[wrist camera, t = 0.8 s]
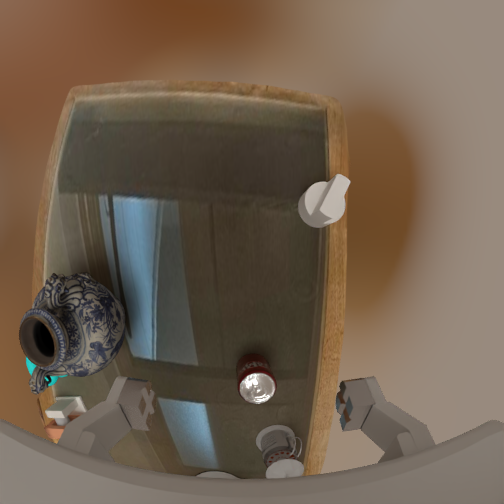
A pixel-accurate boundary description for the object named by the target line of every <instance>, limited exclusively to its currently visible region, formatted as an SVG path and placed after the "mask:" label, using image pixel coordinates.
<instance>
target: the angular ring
mask: <svg viewBox="0 0 504 504" xmlns="http://www.w3.org/2000/svg"><path fill="white" fill-rule="evenodd" d="M79 416H80V415H68V417H69V419H70V421H72V420H74V419H76V418H77V417H79ZM65 427H66V426H58V425H57V423H56V421H55V419H54V420H53V421H52V422H50V423H49V424H48V425H47V426H46V427H45V428H44V429H45V431H46V433H47V435H48V437H49V438H54V439H60V437H61V435H62V433H63V431H64V429H65Z"/></svg>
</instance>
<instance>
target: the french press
mask: <svg viewBox="0 0 504 504" xmlns="http://www.w3.org/2000/svg"><path fill="white" fill-rule="evenodd" d="M295 438H298V439H299V440H300V442H301V449H302V441H301V439H300V438H299V437H295V434H294V433H293V431H292V430H291V429H290V428H288V427H287V426H283V425H273V426H269V427H267V428H265V429H263V430H262V431H261V432H260V433H259V434H258V436H257V438H256V445H257V446H258V448H259V449H260V450H261V451H262V453H263V454H262V455H263V460H264V463H265V464H266V466H267V468H268V469H267V471H266V477H267V479H272V478H288V477H300V476H301V475H302V473H303V472H304V466H303V465H302V463H301V462H299V461H298V457H299V455H300V453H301V449H300V453H299V455H297V451H296V448H295V446H296V439H295ZM294 441H295V445H294V443H293V442H294ZM291 448H294V449H292V450H291ZM289 450H291V451H289ZM292 451H293V452H292ZM294 451H295V453H294ZM264 458H265V459H264Z"/></svg>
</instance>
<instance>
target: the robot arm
mask: <svg viewBox="0 0 504 504" xmlns="http://www.w3.org/2000/svg"><path fill="white" fill-rule="evenodd" d="M339 387H340V391H339V392H338V393H337V396H336V409H337V412H338V413H339V414H340V415H341V418H340V423H341V427H342V430H343V431H350V430H357V429H361V431H363V432H364V433H365V434H366V435H367V436H368V437H369V438H370V439H371V440H372V441H374V443H376V444H377V445H378V446H379V447H380V448H381V449H382V450H383V451H385V454H384V455H383V456H382V458H381V459H380V460H379V462H378V463H377V464H372V465H368V466H364V467H359V468H354V469H349V470H344V471H338V472H332V473H326V474H318V475H310V476H300V477H288V478H272V479H240V478H237V477H235V476H233V475H231V474H229V473H225V472H219V471H210V472H204V473H201V474H199V475H197V476H196V477H195V476H185V475H177V474H170V473H163V472H157V471H151V470H146V469H141V468H136V467H131V466H127V465H123V464H119V463H115V461H114V460H113V458H112V457H111V456H110V454H109V453H108V451H109V450H110V449H111V448H112V447H113V446H114V445H115V444H117V443H118V442H119V441H120V440H121V439H122V438H123V437H124V436H125V435H126V434H127V433H128V432H130V431H131V430H132V429H139V430H146V431H149V430H150V427H151V423H152V417H151V414H153V413H154V412H155V409H156V395H155V393H154V392H153V391H152V390H151V389H152V384H151V381H148V380H142V379H135V378H129V377H123V376H118V377H117V378H116V379H115V381H114V383H113V386H112V388H111V390H110V392H109V394H108V397H107V399H106V401H102V402H100V403H99V404H97V405H96V406H94V407H93V408H91V409H90V410H88V411H86V412H85V413H83V414H82V415H80V416H79V417H77V418H76V419H74V420H72V421H71V422H69V423H68V424H66V427H65V429H64V431H63V433H62V435H61V437H60V439H59V441H58V443H57V444H56V443H53V442H50V441H48V440H46V439H43V438H41V437H39V436H36V435H34V434H32V433H30V432H28V431H26V430H24V429H21V428H20V427H17V426H16V425H14V424H12V423H10V422H7V421H6V420H3V419H0V504H504V423H502V422H500V421H497V420H490V421H488V422H486V423H484V424H482V425H480V426H478V427H476V428H475V429H472V430H470V431H468V432H466V433H464V434H462V435H459V436H457V437H454V438H452V439H450V440H447V441H445V442H442V443H440V444H438V445H435V443H434V440H433V438H432V436H431V434H430V432H429V430H428V428H427V426H426V425H425V424H423V423H422V422H420V421H419V420H417V419H416V418H414V417H412V416H411V415H409V414H408V413H406V412H405V411H403V410H402V409H400V408H399V407H397V406H395V405H394V404H392V403H391V402H387V401H386V400H385V397H384V395H383V393H382V391H381V388H380V386H379V384H378V382H377V380H376V378H375V377H374V376H373V377H367V378H359V379H352V380H345V381H342V382H341V383H340V386H339ZM131 428H132V429H131Z"/></svg>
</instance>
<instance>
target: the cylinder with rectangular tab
mask: <svg viewBox="0 0 504 504" xmlns="http://www.w3.org/2000/svg"><path fill="white" fill-rule="evenodd" d="M349 184H350V180H348V179H347V178H346V177H345V176H343V175H341V174H337V175H336V176H334V177H333V178H332V179H331V180H330V181H329V182H318V183H315V184H313V185H312V186H311V187H310V188H309V189H308V190H307V191H306V192H305V193H304V194H303V195H302V196H301V198H300V200H299V202H298V211H299V214H300V216H301V218H302V220H303V221H304V222H305V223H306V224H308V225H310V226H312V227H316V228H321V227H325V226H327V225H329V224H331V223H334V222H336V221H337V220H339V219H340V218H341V216H342V215H343V213H344V210H345V199H344V195H345V193H346V191H347V188H348V186H349Z"/></svg>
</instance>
